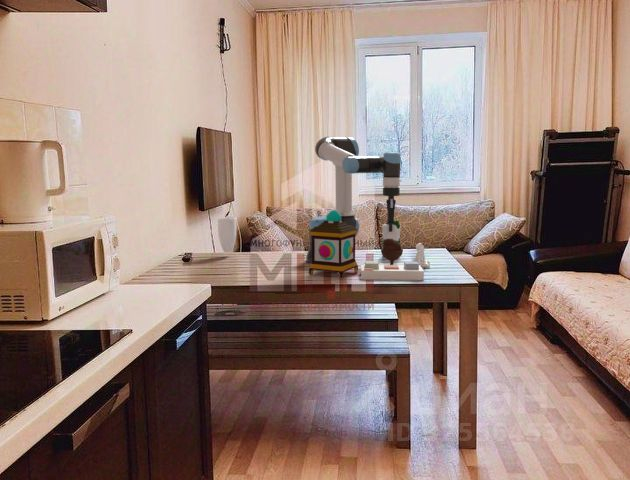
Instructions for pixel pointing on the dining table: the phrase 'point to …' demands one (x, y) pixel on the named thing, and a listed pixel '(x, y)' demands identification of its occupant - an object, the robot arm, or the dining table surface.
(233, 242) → the cup
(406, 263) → the slate key
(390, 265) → the terracotta key
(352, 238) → the decorative lantern
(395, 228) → the milk carton
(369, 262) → the sage key
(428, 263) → the sitting furry creature
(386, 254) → the ice cream bowl
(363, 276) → the console
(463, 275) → the dining table surface
